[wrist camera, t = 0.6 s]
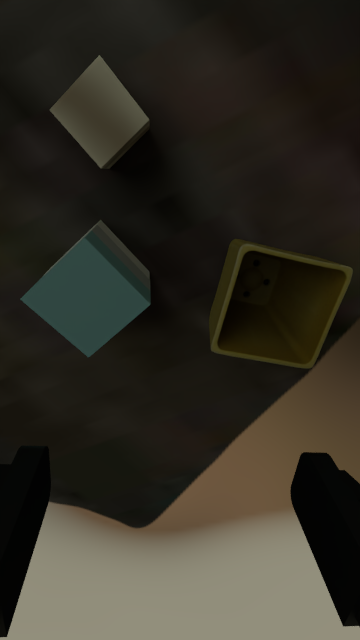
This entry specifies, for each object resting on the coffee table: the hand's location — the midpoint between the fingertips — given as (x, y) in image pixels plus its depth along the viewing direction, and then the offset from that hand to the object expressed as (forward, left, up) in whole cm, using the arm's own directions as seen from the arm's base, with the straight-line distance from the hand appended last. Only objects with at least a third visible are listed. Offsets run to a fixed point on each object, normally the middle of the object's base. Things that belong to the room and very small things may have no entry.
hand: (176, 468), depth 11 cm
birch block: (-5, -12, -24) cm, 27 cm away
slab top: (+4, -4, -18) cm, 19 cm away
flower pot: (-6, +7, -24) cm, 26 cm away
